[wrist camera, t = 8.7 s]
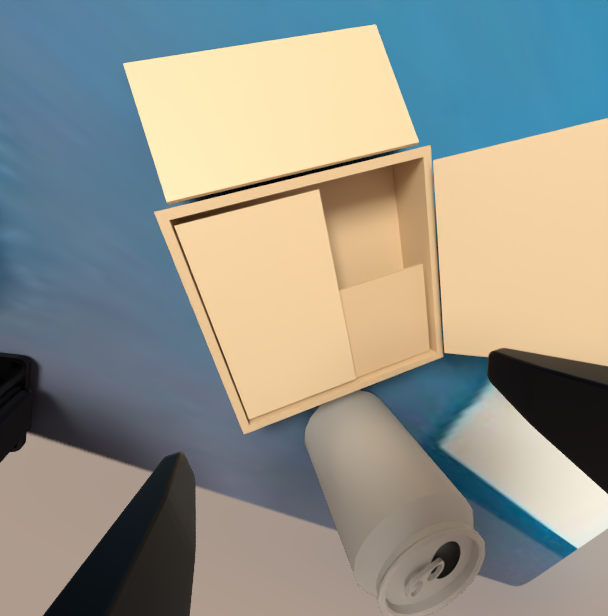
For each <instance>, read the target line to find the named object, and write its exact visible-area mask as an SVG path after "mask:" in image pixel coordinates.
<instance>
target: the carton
mask: <svg viewBox="0 0 608 616" xmlns="http://www.w3.org/2000/svg"><path fill="white" fill-rule="evenodd" d="M123 65H124V68H125V71H126V74H127V77H128V81H129V84H130V87H131V90H132V93H133V96H134V100H135V103H136V106H137V109H138V112H139V115H140V119H141V122H142V125H143V128H144V131H145V134H146V138H147V141H148V144H149V147H150V150H151V153H152V157H153V160H154V163H155V166H156V169H157V172H158V176H159V179H160V182H161V185H162V188H163V192H164V195H165V198H166V201H167V203H168V204H172V203H176V202H181V201H185V200H189V199H193V198H197V197H201V196H206V195H210V194H214V193H218V192H222V191H226V190H231V189H235V188H239V187H243V186H247V185H251V184H256V183H260V182H264V181H268V180H272V179H277V178H281V177H285V176H289V175H293V174H297V173H302V172H306V171H310V170H314V169H318V168H322V167H327V166H331V165H335V164H339V163H343V162H347V161H352V160H356V159H360V158H364V157H368V156H372V155H377V154H381V153H385V152H389V151H393V150H398V149H402V148H406V147H410V146H414V145H417V144H418V143H419V141H418V138H417V135H416V133H415V130H414V127H413V124H412V122H411V119H410V116H409V114H408V111H407V108H406V105H405V103H404V100H403V97H402V95H401V92H400V89H399V86H398V84H397V81H396V78H395V76H394V73H393V70H392V67H391V65H390V62H389V59H388V57H387V54H386V51H385V48H384V46H383V43H382V40H381V38H380V35H379V32H378V29H377V27H376V24H375V25H369V26H362V27H356V28H349V29H343V30H337V31H330V32H324V33H317V34H311V35H304V36H298V37H291V38H285V39H278V40H272V41H265V42H259V43H252V44H246V45H239V46H233V47H226V48H220V49H213V50H207V51H201V52H194V53H188V54H181V55H175V56H168V57H162V58H155V59H149V60H142V61H136V62H129V63H123ZM154 213H155V216H156V218H157V221H158V223H159V226H160V228H161V231H162V233H163V236H164V238H165V241H166V243H167V245H168V248H169V250H170V253H171V255H172V258H173V260H174V263H175V265H176V268H177V270H178V273H179V275H180V278H181V280H182V283H183V285H184V287H185V290H186V292H187V295H188V297H189V300H190V302H191V305H192V307H193V310H194V312H195V315H196V317H197V320H198V322H199V325H200V327H201V329H202V332H203V334H204V337H205V339H206V342H207V344H208V347H209V349H210V352H211V354H212V357H213V359H214V362H215V364H216V367H217V369H218V371H219V374H220V376H221V379H222V381H223V384H224V386H225V389H226V391H227V394H228V396H229V399H230V401H231V404H232V406H233V409H234V411H235V414H236V416H237V418H238V421H239V423H240V426H241V428H242V431H243V433H244V434H247V433H249V432H252V431H254V430H257V429H259V428H262V427H264V426H267V425H270V424H272V423H275V422H277V421H280V420H282V419H285V418H288V417H290V416H293V415H295V414H298V413H300V412H303V411H306V410H308V409H311V408H313V407H316V406H318V405H321V404H324V403H326V402H329V401H331V400H334V399H336V398H339V397H342V396H344V395H347V394H349V393H352V392H354V391H357V390H360V389H362V388H365V387H367V386H370V385H372V384H375V383H378V382H380V381H383V380H385V379H388V378H390V377H393V376H396V375H398V374H401V373H403V372H406V371H408V370H411V369H413V368H416V367H419V366H421V365H424V364H426V363H429V362H431V361H434V360H437V359H439V358H442V357H443V343H442V327H441V310H440V293H439V277H438V260H437V243H436V227H435V210H434V194H433V177H432V160H431V145H429V146H425V147H421V148H417V149H413V150H408V151H404V152H400V153H396V154H392V155H388V156H384V157H379V158H375V159H371V160H367V161H363V162H359V163H355V164H351V165H346V166H342V167H338V168H334V169H330V170H326V171H322V172H318V173H313V174H309V175H305V176H301V177H297V178H293V179H289V180H284V181H280V182H276V183H272V184H268V185H264V186H260V187H256V188H251V189H247V190H243V191H239V192H235V193H231V194H227V195H223V196H218V197H214V198H210V199H206V200H202V201H198V202H194V203H189V204H185V205H181V206H177V207H173V208H169V209H165V210H161V211H156V212H154Z"/></svg>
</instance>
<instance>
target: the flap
mask: <svg viewBox="0 0 608 616" xmlns="http://www.w3.org/2000/svg"><path fill="white" fill-rule="evenodd" d="M433 166H434V183H435V200H436V217H437V234H438V252H439V269H440V286H441V303H442V320H443V338H444V353H451V354H461V355H471V356H481V357H488V355H489V353H490V352H491V351H494V350H497V349H500V348H508V349H514V350H520V351H525V352H531V353H537V354H542V355H548V356H553V357H559V358H565V359H570V360H576V361H581V362H587V363H593V364H598V365H604V366H608V118H606V119H602V120H598V121H594V122H590V123H586V124H581V125H577V126H573V127H569V128H565V129H561V130H557V131H552V132H548V133H544V134H540V135H536V136H532V137H528V138H524V139H519V140H515V141H511V142H507V143H503V144H499V145H495V146H491V147H486V148H482V149H478V150H474V151H470V152H466V153H462V154H457V155H453V156H449V157H445V158H441V159H437V160H433Z"/></svg>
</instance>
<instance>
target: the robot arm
mask: <svg viewBox="0 0 608 616" xmlns="http://www.w3.org/2000/svg"><path fill="white" fill-rule="evenodd" d="M15 362H18V363H20V364H21V367H20V366H17V365H16V364H15ZM30 367H31V363H30V360H29V359H28V358H27V357H26V356H23V355H17V354H7V353H0V462H1V461H2V460H3V459H4V458H5V456H6V455H7V454H8V453H9V452H15V451H18V450H20V449H21V448H22V446H23V445H24V444H25V442H26V432H27V431H28V430H29V429H30V427H31V418H32V403H33V393H32V392H31V390H29V383H30ZM487 375H488V378H489V380H490V382H491V383H492V384H493V385H494V386H495V387H496V388H497V390H498V391H499V392H500V393H501V394H502V395H503V396H504V397H505V398H506V399H507V400H508V401H509V402H510V403H511V404H512V405H513V406H514V408H515V409H516V410H517V411H518V412H519V413H520V414H521V415H522V416H523V417H524V418H525V419H526V420H527V421H528V422H529V423H530V424H531V425H532V426H533V427H534V428H535V429H536V430H537V431H538V432H539V433H541V434H542V435H543V436H544V437H545V438H546V439H547V440H548V441H549V442H551V443H552V444H553V445H554V446H555V447H556V448H557V449H558V450H559V451H561V452H562V453H563V454H564V455H565V456H566V457H567V458H568V459H570V460H571V461H572V462H573V463H574V464H575V465H576V466H577V467H578V468H580V469H581V470H582V471H583V472H584V473H585V474H586V475H587V476H588V477H590V478H591V479H592V480H593V481H594V482H595V483H596V484H597V485H598V486H600V487H601V488H602V489H603V490H604V491H605V492H606V493H607V494H608V366H604V365H598V364H593V363H587V362H581V361H576V360H570V359H565V358H559V357H553V356H548V355H542V354H537V353H531V352H525V351H520V350H514V349H508V348H500V349H497V350H494V351H491V352H490V353H489V355H488V371H487ZM195 510H196V509H195V477H194V474H193V471H192V469H191V467H190V465H189V462H188V460H187V458H186V456H185V454H184V453H183V452H177V453H174V454H171V455H168V456H166V457H165V458H164V459H163V460H162V461H161V463H160V464H159V465H158V466H157V468H156V469H155V470H154V472H153V473H152V474H151V476H150V477H149V478H148V480H147V481H146V482H145V483H144V485H143V486H142V487H141V489H140V490H139V491H138V493H137V494H136V495H135V496H134V498H133V499H132V500H131V502H130V503H129V504H128V506H127V507H126V508H125V509H124V511H123V512H122V513H121V515H120V516H119V517H118V519H117V520H116V521H115V523H114V524H113V525H112V526H111V528H110V529H109V530H108V532H107V533H106V534H105V536H104V537H103V538H102V539H101V541H100V542H99V543H98V545H97V546H96V547H95V549H94V550H93V551H92V552H91V554H90V555H89V556H88V558H87V559H86V560H85V562H84V563H83V564H82V565H81V567H80V568H79V569H78V571H77V572H76V573H75V575H74V576H73V577H72V579H71V580H70V581H69V583H68V584H67V585H66V586H65V588H64V589H63V590H62V592H61V593H60V594H59V595H58V597H57V598H56V599H55V601H54V602H53V603H52V605H51V606H50V607H49V608H48V610H47V611H46V612H45V614H44V615H43V616H190V604H191V595H192V584H193V573H194V563H195V547H196V526H195V525H196V521H195V520H196V511H195Z"/></svg>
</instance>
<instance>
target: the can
mask: <svg viewBox="0 0 608 616" xmlns="http://www.w3.org/2000/svg"><path fill="white" fill-rule="evenodd" d="M305 445H306V447H307V450H308V453H309V456H310V458H311V461H312V464H313V466H314V469H315V472H316V474H317V477H318V480H319V482H320V485H321V488H322V490H323V493H324V496H325V498H326V501H327V504H328V507H329V509H330V512H331V515H332V517H333V520H334V523H335V525H336V528H337V531H338V533H339V536H340V539H341V541H342V544H343V546H344V549H345V552H346V555H347V558H348V560H349V563H350V566H351V568H352V571H353V573H354V576H355V579H356V582H357V584H358V586H360V587H361V588H362V589H363V590H365V591H366V592H367V593H369V594H371V595H372V596H374V597H376V598H377V600H378V604H379V607H380V610H381V612H382V613H383V614H385V615H386V616H427V615H429V614H431V613H434V612H436V611H437V610H439V609H441V608H442V607H444V606H446V605H448V604H449V603H450V602H451V601H452V600H454V599H455V598H456V597H458V596H459V595H460V594H461V593H462V592H463V591H464V590H465V589H466V588H467V587H468V586H469V585H470V584H471V582H472V581H473V580H474V578H475V577H476V575H477V574H478V572H479V570H480V569H481V567H482V564H483V561H484V558H485V542H484V540H483V539H482V537H481V536H480V534H479V533H478V532H476V531H474V523H473V509H472V508H471V506H470V505H469V503H468V502H467V500H466V499H465V498H464V497H463V495H462V494H461V493H460V492H459V491H458V490H457V488H456V487H455V486H454V485H453V484H452V482H451V481H450V480H449V479H448V478H447V477H446V475H445V474H444V473H443V472H442V471H441V470H440V468H439V467H438V466H437V465H436V464H435V463H434V461H433V460H432V459H431V458H430V457H429V456H428V454H427V453H426V452H425V451H424V450H423V449H422V447H421V446H420V445H419V444H418V443H417V442H416V440H415V439H414V438H413V437H412V436H411V435H410V433H409V432H408V431H407V430H406V429H405V428H404V426H403V425H402V424H401V423H400V422H399V421H398V419H397V418H396V417H395V416H394V415H393V414H392V412H391V411H390V410H389V409H388V408H387V407H386V405H385V404H384V403H383V402H382V401H381V400H380V398H378V397H377V396H375V395H373V394H372V393H370V392H365V391H360V390H357V391H354V392H352V393H349V394H347V395H344V396H342V397H339V398H336V399H334V400H331V401H329V402H326V403H324V404H322V405H321V406H319V407H318V409H317V410H316V411H315V413H314V414H313V415H312V416H311V418H310V420H309V422H308V425H307V427H306V430H305Z"/></svg>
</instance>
